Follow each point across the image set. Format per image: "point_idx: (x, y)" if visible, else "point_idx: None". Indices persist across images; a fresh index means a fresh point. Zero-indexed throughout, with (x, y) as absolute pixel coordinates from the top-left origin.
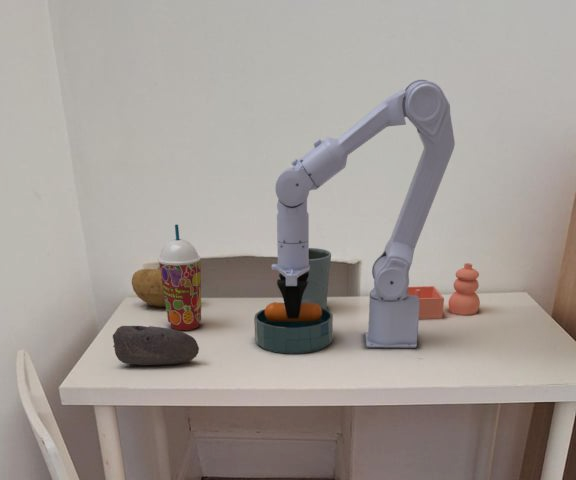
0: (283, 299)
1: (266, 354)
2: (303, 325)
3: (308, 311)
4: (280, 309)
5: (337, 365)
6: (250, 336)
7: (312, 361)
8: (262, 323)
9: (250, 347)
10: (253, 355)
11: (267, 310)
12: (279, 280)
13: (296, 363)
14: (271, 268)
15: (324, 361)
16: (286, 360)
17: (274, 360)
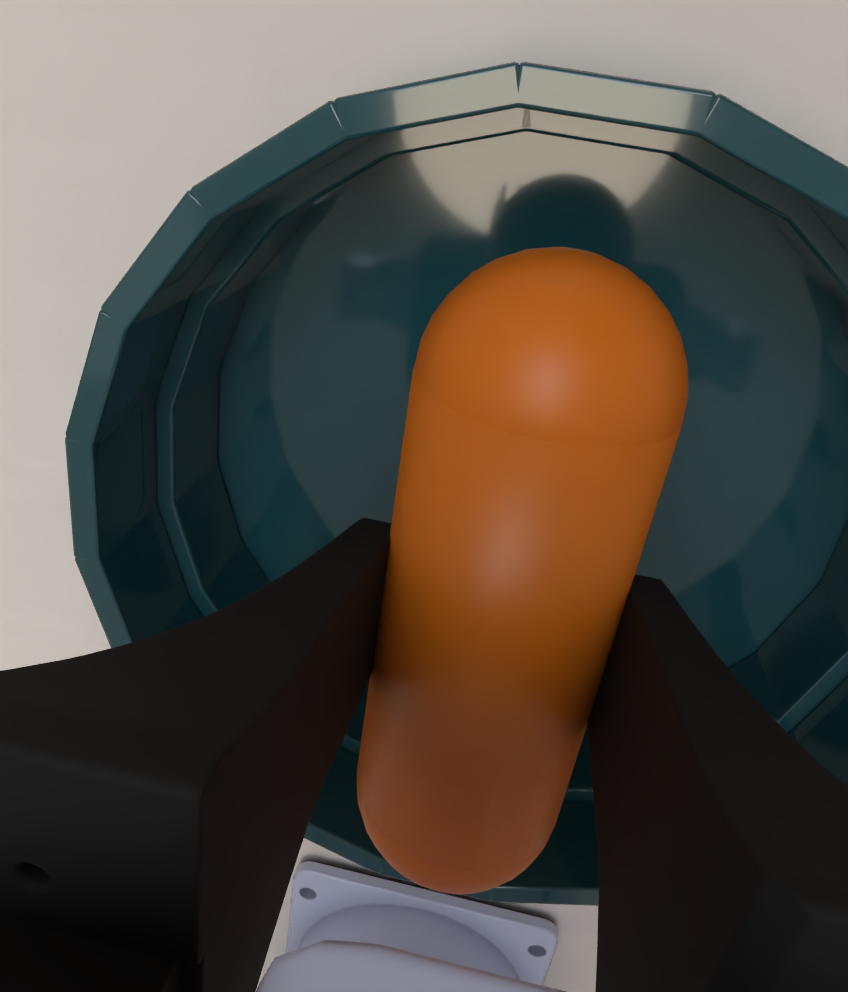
0: (232, 606)
1: (193, 174)
2: (805, 618)
3: (363, 757)
4: (407, 488)
5: (3, 641)
6: (798, 19)
7: (56, 516)
8: (227, 177)
9: (404, 5)
10: (163, 31)
11: (468, 299)
12: (90, 809)
13: (4, 402)
14: (365, 981)
15: (64, 588)
16: (59, 336)
17: (49, 235)
